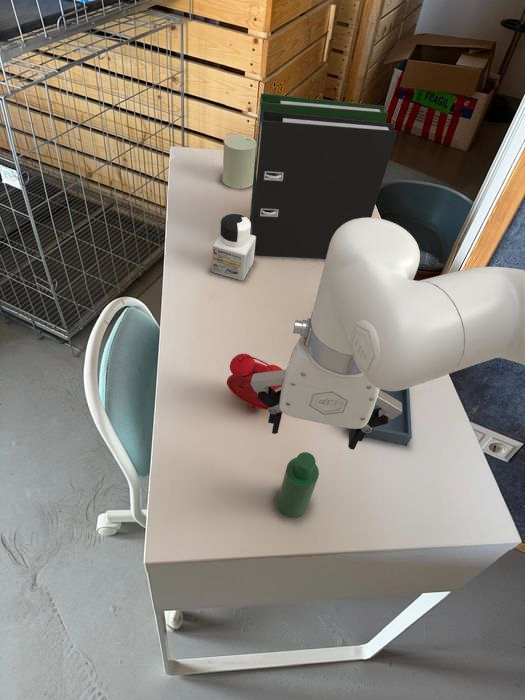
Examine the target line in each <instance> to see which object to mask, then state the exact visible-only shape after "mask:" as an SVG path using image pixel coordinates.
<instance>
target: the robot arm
mask: <svg viewBox="0 0 525 700" xmlns="http://www.w3.org/2000/svg"><path fill="white" fill-rule="evenodd" d="M324 260H325V261H324V264H323V269H322V272H321V277H320V280H319V285H318V288H317V292H316V297H315V301H314V304H313V309H312V311H311V314H310V317H307V319H306V320H305V319H303V320H299V319H295V320H294V325H293V331H292V333H293V334H297V335H299V338H298V340H297V342H296V343H295V345H294V347H293V349H292V351H291V354H290V357H289V360H288V363H287V366H286V369H282V370H279V371H271V372H263V373H255V374H253V376H252V380H251V386H252V387H253V389H254V391H255V392H256V393H257V394H258V396H257V397H258V399H259V400H260V401H261V402H263V403H264V404H265V405H266V406H267V407H268V410H267V411H268V414H269V416H268V420H267V423H268V424H272V430H271V434H273V435H276V434H278V433H279V428H280V425H281V420H282V415H283V414H285V415H287V416H289V417H291V418H294V419H300V420H302V421H303V420H304V421H309V422H312V423H318V424H324V425H329V426H334V427H340V428H345V429H348V443H347V445H348V446H347V447H348V448H349V450H353V451H355V449H356V447H357V445H358V442H363V440H364V438H365V437H364V436H365V434H366V433H369V432H371V431H372V428H373V427H377V426H381V425H384V424H387V423H388V420H390V419H394V418H395V417H397V416H399V415H401V414H402V403H401V402H400V401H398V400H396V399H395V398H393V397H391V396H390V395H388V394H386V393H385V392H383V391H381V390H380V389H382V390H385V391H400V390H404V389H408V388H409V389H410V388H414V387H416V386H420V385H422V384H425V383H428V382H430V381H434V380H436V379H439V378H442V377H445V376H447V375H451V374H453V373H455V372H458V371H462V370H464V369H467V368H470V367H472V366H476V365H479V364H482V363H485V362H488V361H492V360H494V359H503V360H508V361H511V362H514V363H517V364H520V365H522V366H525V269H519V268H513V267H505V266H476V267H469V268H466V269H461V270H457V271H452V272H448V273H444V274H441V275H436V276H433V277H428V278H424V279H421V280H414V279H415V276H416V275H417V271H418V268H419V266H420V261H421V252H420V248H419V244H418V243H417V241H416V239H415V238H414V237H413V235H412V234H411V233H410V232H409V231H407V229H405V228H404V227H402V226H400V225H399V224H397V223H394V222H393V221H390V220H388V219H387V220H386V219H383V218H379V217H371V218H358V219H354V220H351V221H348V222H346V223H345V224H343V225H342V226H341V227H339V228H338V229H337V231H336V232H335V233H334V235H333V237H332V239H331V241H330V245H329V248H328V252H327V256H326V259H324ZM280 385H282V387H280V388H277V389H275V390H273V389H272V388H271V386H280ZM375 405H377V406H379V407H380V408H377V409H374V406H375Z"/></svg>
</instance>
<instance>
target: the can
mask: <svg viewBox="0 0 525 700" xmlns="http://www.w3.org/2000/svg"><path fill="white" fill-rule="evenodd" d="M256 142H257V140H255V139H254V138H253V137H251V136H249V135H244V134H230V135H227V136H225V138H224V139H223V157H222V158H223V159H222V177H221V181H222V183H223V184H224V185H225V186H227V187H229V188H231V189H235V190H242V189H244V190H245V189H248V188H250V187H253V176H254V165H255V153H256Z"/></svg>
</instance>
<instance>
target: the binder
mask: <svg viewBox="0 0 525 700" xmlns="http://www.w3.org/2000/svg"><path fill="white" fill-rule="evenodd" d="M385 109H386V105H378V104H368V103H358V102H357V103H356V102H349V101H338V100H330V99H319V98H310V97H301V96H291V95H283V94H272V93H260V97H259V109H258V120H257V121H258V122H257V131H256V153H255V164H254V176H253V185H252V186H251V199H250V211H249V220H250V222H251V229H250V235H254V236H256V243H255V252H254V257H273V258H276V257H277V258H299V259H317V260H318V259H319V260H320V259H321V260H326V256H327V252H328V248H329V245H330V241H331V239H332V237H333V235H334V233H335V232H336V231H337V229H338V228H339V227H341V226H342V225H343V224H345V223H346V222H348V221H351V220H354V219H358V218H373V214H374V210H375V207H376V203H377V201H378V197H379V194H380V191H381V187H382V184H383V181H384V177H385V174H386V171H387V167H388V165H389V160H390V157H391V154H392V150H393V147H394V144H395V142H396V138H397V135H398V130H393V129H394V126H395V125H394V123H390V122H387V120H388V116H389V112H387V111H385Z"/></svg>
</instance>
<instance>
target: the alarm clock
mask: <svg viewBox="0 0 525 700" xmlns="http://www.w3.org/2000/svg"><path fill="white" fill-rule="evenodd" d="M257 361H258V362H257ZM279 370H283V369H282V367H280V366H278V365H277V364H269V363H268V362H266V361H264V360H261V359H260V358H257V357H254V356H252V355H250V354H248V353H239V354H236V355H235V356H234V357H233V358H232V359H231V360H230V364H229V371H230V373H231V375H229V376H228V377H227V379H226V386H227V387H228V389H229V391H231V392H232V394H234V396H236V397H237V398H239V399H240V400H242V401H243V402H246V404H249V405H251V406H250V408H251V409H252V410H256V409H257V408H258V409H261V410H266V411H268V407H267V406H266V405H265V404H264V403H263V402H261V401H260V400H259V399H258V397H257V396H258V394H257V393H256V392H255V391H254V389H253V387H252V386H251V380H252V376H253V374H255V373H263V372H271V371H279ZM280 387H282V385H280V386H271V388H272V389H273V390H275V389H277V388H280Z"/></svg>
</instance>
